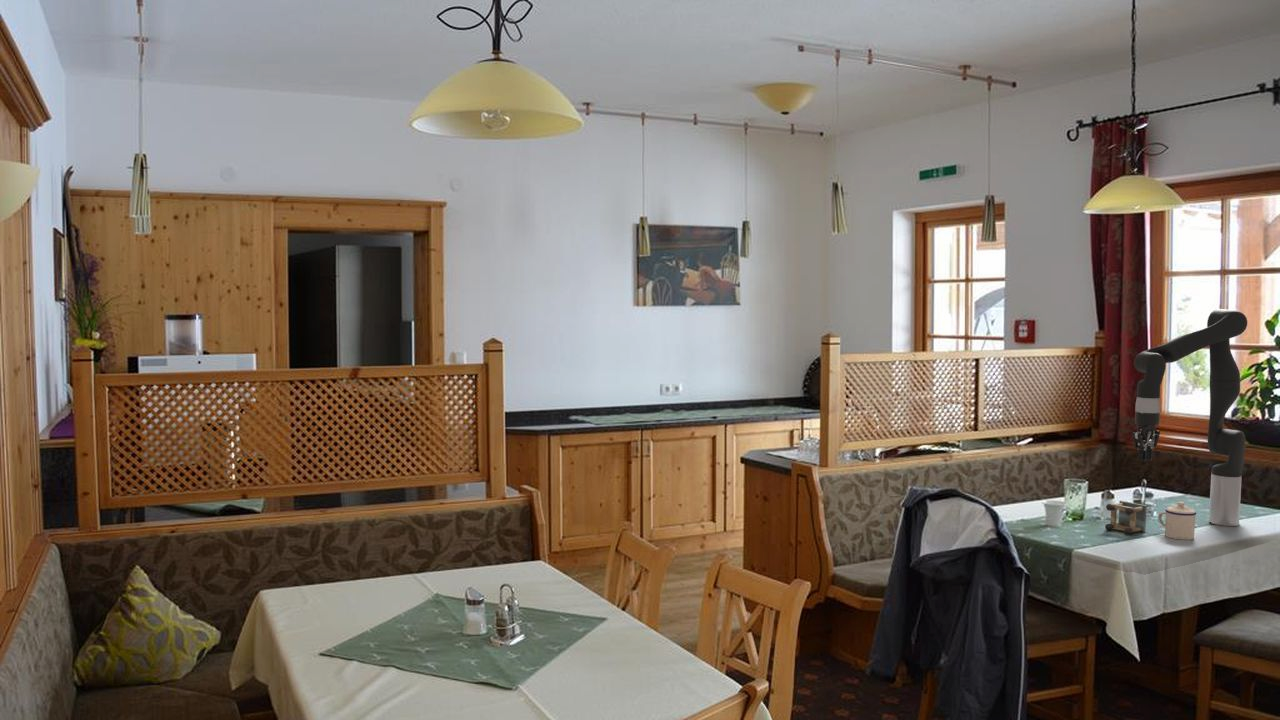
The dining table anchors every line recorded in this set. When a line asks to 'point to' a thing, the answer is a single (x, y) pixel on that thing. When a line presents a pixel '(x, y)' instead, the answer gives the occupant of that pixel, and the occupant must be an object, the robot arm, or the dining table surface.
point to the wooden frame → (1127, 517)
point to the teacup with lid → (1179, 522)
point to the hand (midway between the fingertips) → (1145, 460)
